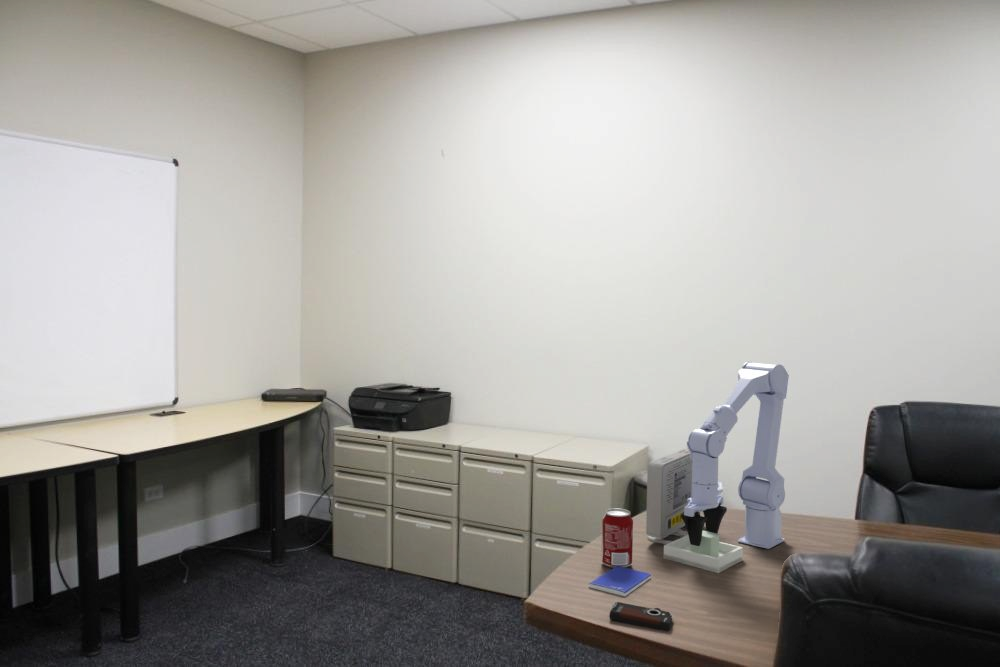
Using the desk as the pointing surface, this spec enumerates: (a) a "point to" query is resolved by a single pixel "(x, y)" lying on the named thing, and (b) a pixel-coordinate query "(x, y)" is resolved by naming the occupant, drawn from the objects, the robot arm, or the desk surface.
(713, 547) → the sage block
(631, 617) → the camera
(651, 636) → the desk surface
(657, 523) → the network device
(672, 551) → the desk bin
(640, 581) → the hard drive
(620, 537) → the soda can
